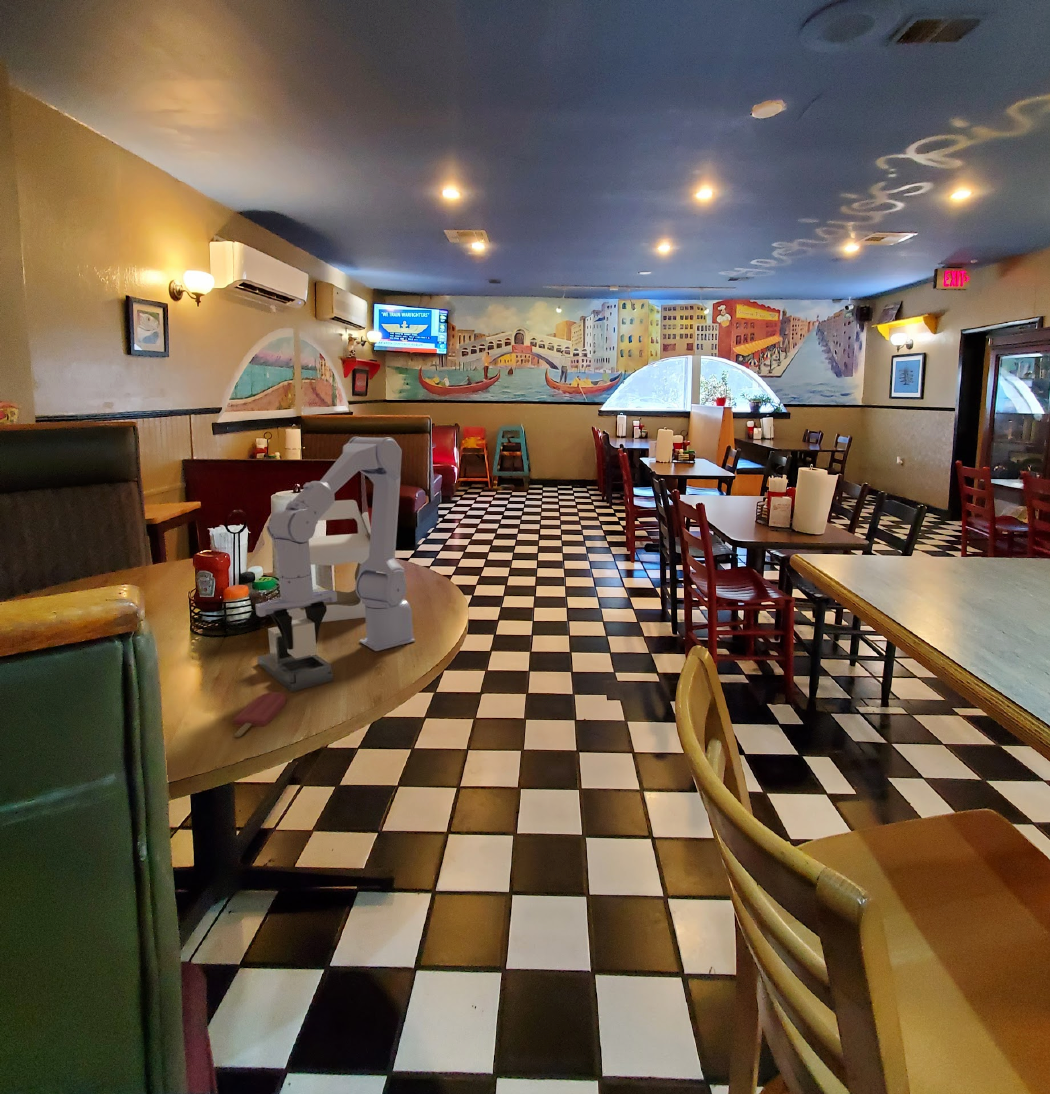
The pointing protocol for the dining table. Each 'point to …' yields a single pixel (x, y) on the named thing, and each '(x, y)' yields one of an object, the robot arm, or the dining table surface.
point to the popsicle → (259, 711)
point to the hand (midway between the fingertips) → (301, 645)
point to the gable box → (341, 559)
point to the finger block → (303, 638)
